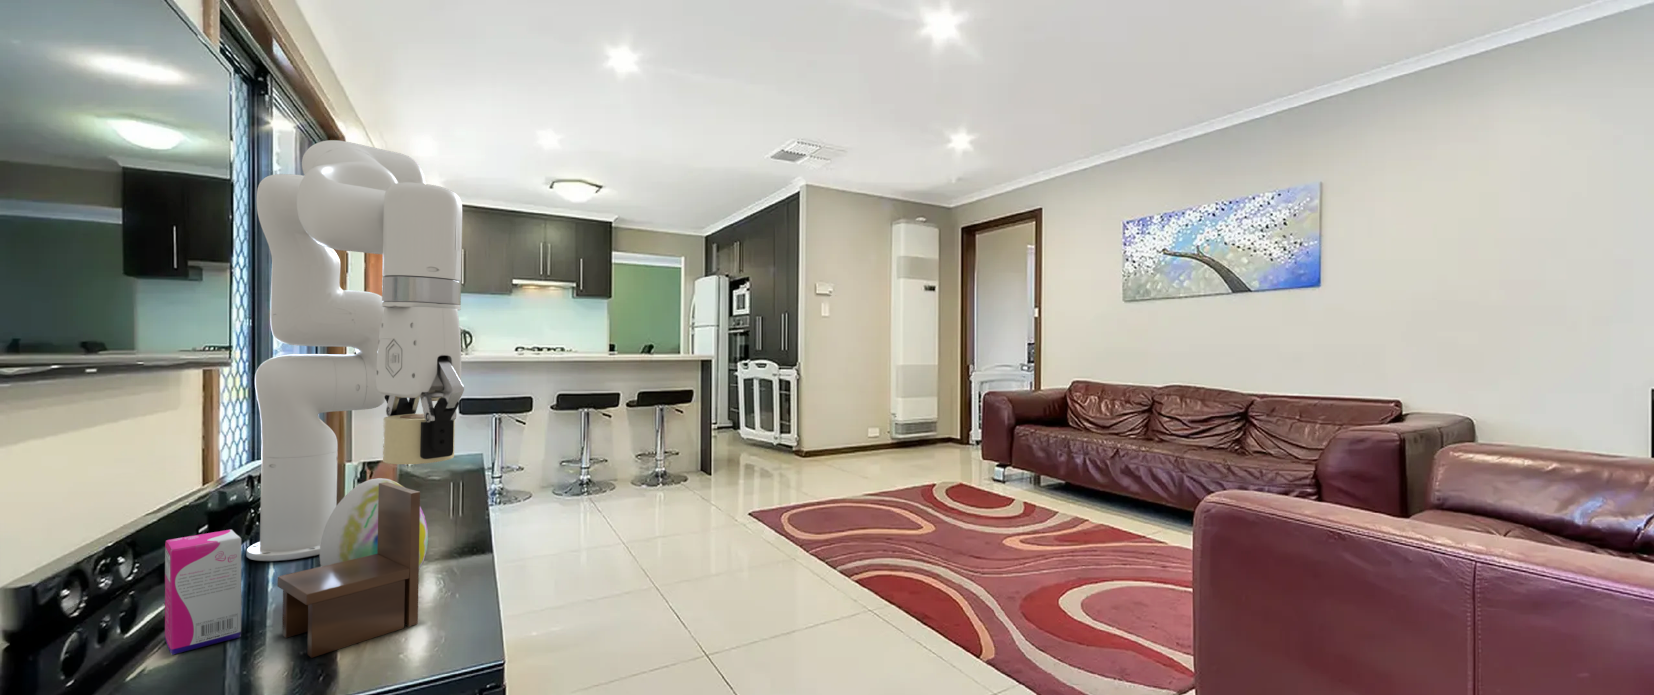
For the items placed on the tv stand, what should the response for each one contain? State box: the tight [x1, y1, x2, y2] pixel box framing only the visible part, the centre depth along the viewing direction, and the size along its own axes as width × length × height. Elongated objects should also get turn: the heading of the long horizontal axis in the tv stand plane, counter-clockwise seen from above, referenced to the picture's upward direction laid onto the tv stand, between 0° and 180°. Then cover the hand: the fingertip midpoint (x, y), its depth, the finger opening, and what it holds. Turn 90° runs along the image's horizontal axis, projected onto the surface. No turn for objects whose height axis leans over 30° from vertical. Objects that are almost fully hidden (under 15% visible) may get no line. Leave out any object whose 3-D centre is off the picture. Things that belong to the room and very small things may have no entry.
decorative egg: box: [319, 477, 429, 570], centre depth 88 cm, size 12×12×15 cm
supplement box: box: [164, 529, 242, 656], centre depth 72 cm, size 6×6×12 cm
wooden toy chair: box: [277, 482, 421, 659], centre depth 75 cm, size 9×11×16 cm
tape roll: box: [382, 413, 456, 465], centre depth 72 cm, size 7×7×5 cm
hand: (419, 452), depth 72 cm, fingers closed on tape roll, 6 cm apart
